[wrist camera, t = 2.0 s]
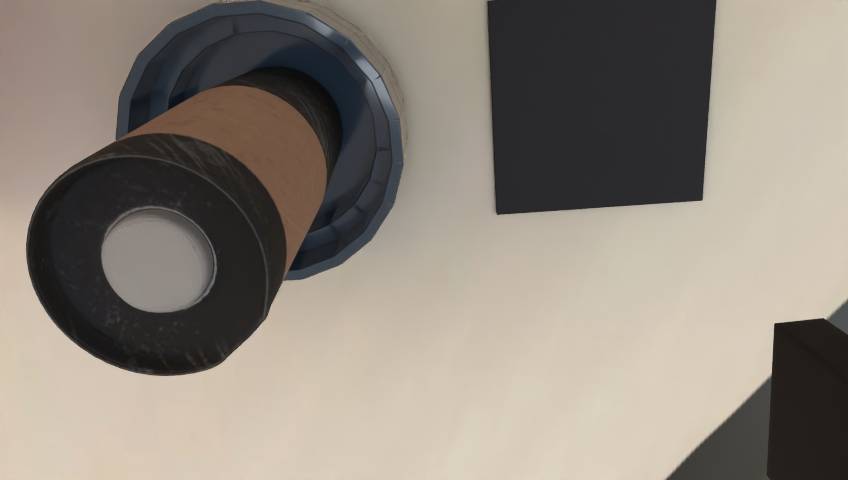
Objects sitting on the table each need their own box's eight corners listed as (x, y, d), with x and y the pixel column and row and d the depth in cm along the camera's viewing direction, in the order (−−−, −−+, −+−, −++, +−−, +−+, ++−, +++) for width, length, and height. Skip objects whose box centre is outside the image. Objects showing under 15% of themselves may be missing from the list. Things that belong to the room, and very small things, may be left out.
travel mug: (205, 61, 39) (-8, 149, 20) (344, 59, 38) (262, 146, 20) (221, 194, 41) (48, 381, 23) (351, 193, 41) (285, 380, 23)
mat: (487, 0, 38) (487, 1, 37) (714, -18, 37) (717, -18, 37) (496, 212, 42) (497, 214, 41) (700, 198, 41) (702, 200, 41)
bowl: (131, 7, 38) (84, 14, 33) (394, -14, 37) (388, -11, 32) (184, 251, 43) (151, 289, 38) (416, 235, 42) (413, 272, 37)
